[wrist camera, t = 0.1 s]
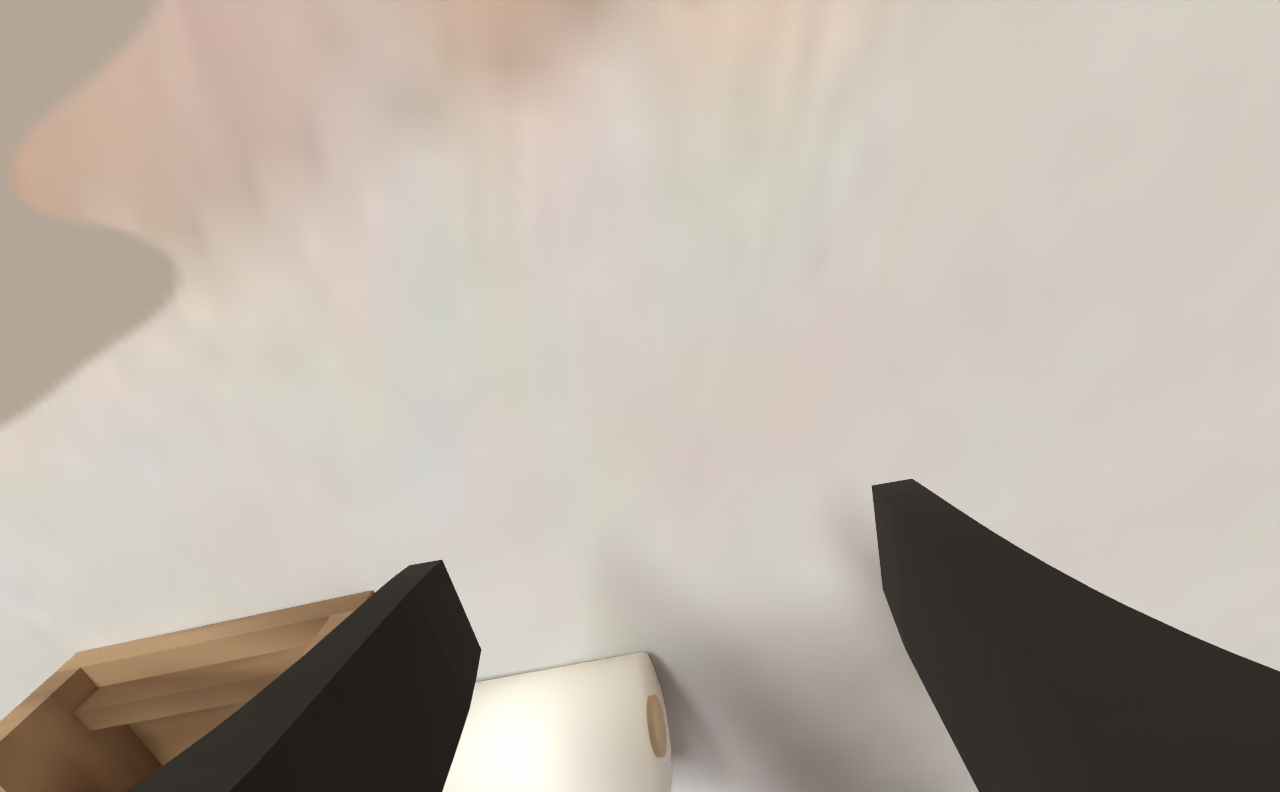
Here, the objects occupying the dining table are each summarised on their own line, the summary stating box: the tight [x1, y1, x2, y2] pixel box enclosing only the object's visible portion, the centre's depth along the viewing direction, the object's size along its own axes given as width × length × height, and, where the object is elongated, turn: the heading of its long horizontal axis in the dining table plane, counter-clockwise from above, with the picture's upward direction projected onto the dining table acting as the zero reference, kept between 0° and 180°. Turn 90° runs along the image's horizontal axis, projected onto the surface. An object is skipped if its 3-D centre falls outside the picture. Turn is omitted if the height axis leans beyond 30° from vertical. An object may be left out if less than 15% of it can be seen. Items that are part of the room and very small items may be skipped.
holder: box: [0, 591, 374, 792], centre depth 24 cm, size 10×13×5 cm
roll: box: [442, 652, 672, 792], centre depth 23 cm, size 5×8×5 cm, turn 106°
